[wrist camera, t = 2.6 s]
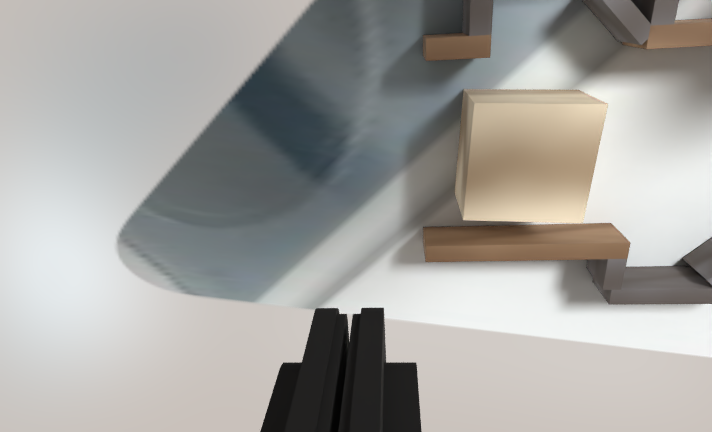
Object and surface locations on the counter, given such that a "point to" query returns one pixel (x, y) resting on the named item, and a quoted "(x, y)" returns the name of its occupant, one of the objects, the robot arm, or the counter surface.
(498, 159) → the block
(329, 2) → the counter surface
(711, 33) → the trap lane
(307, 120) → the counter surface
